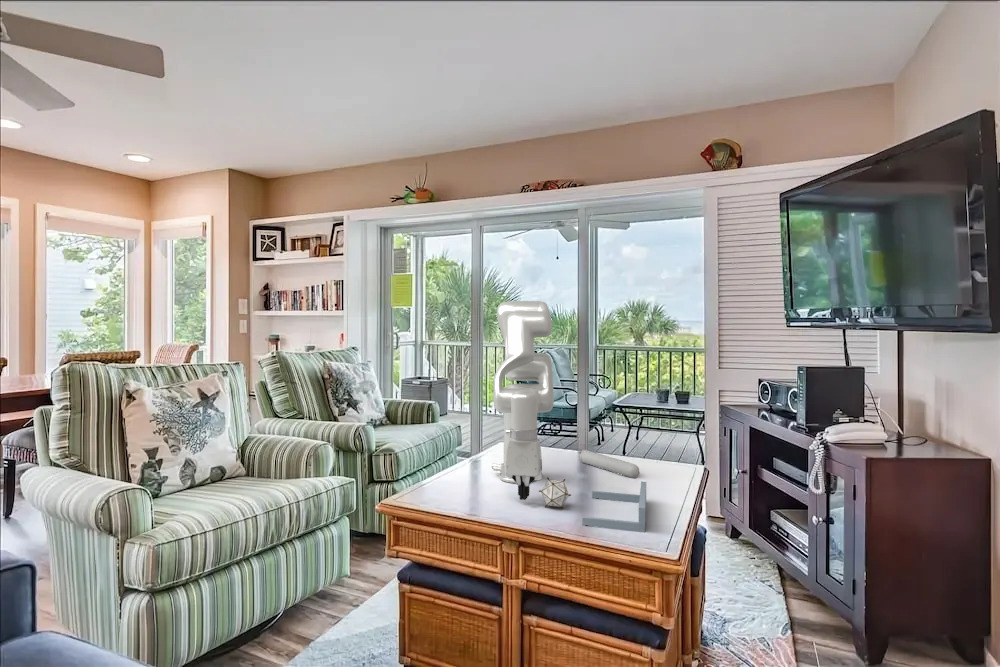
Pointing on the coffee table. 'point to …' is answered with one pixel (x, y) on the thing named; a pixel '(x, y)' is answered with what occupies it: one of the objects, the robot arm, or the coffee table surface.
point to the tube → (609, 463)
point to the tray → (620, 523)
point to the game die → (555, 493)
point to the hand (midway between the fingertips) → (523, 498)
